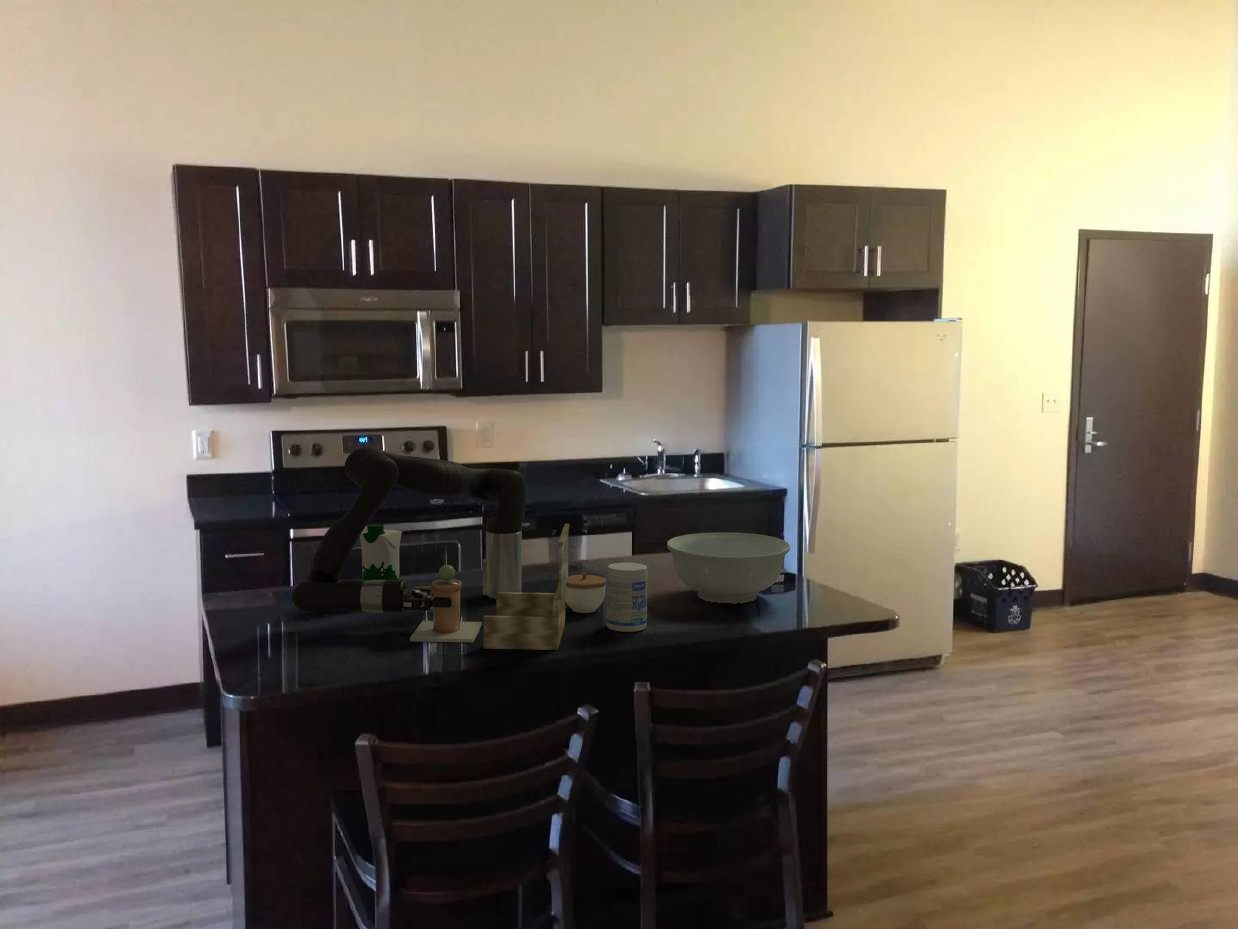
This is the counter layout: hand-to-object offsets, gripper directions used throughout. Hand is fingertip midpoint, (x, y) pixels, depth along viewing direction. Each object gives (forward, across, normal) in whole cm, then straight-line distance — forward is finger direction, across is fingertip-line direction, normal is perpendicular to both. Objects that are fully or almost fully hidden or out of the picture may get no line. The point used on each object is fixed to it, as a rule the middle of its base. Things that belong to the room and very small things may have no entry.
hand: (455, 597), depth 240 cm
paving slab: (-2, 0, +8) cm, 8 cm away
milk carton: (-23, +28, +8) cm, 37 cm away
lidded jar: (+28, +23, +8) cm, 37 cm away
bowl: (+65, +39, +8) cm, 76 cm away
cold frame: (+16, 0, +8) cm, 18 cm away
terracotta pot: (-2, 0, +8) cm, 8 cm away
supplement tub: (+39, +8, +8) cm, 41 cm away
